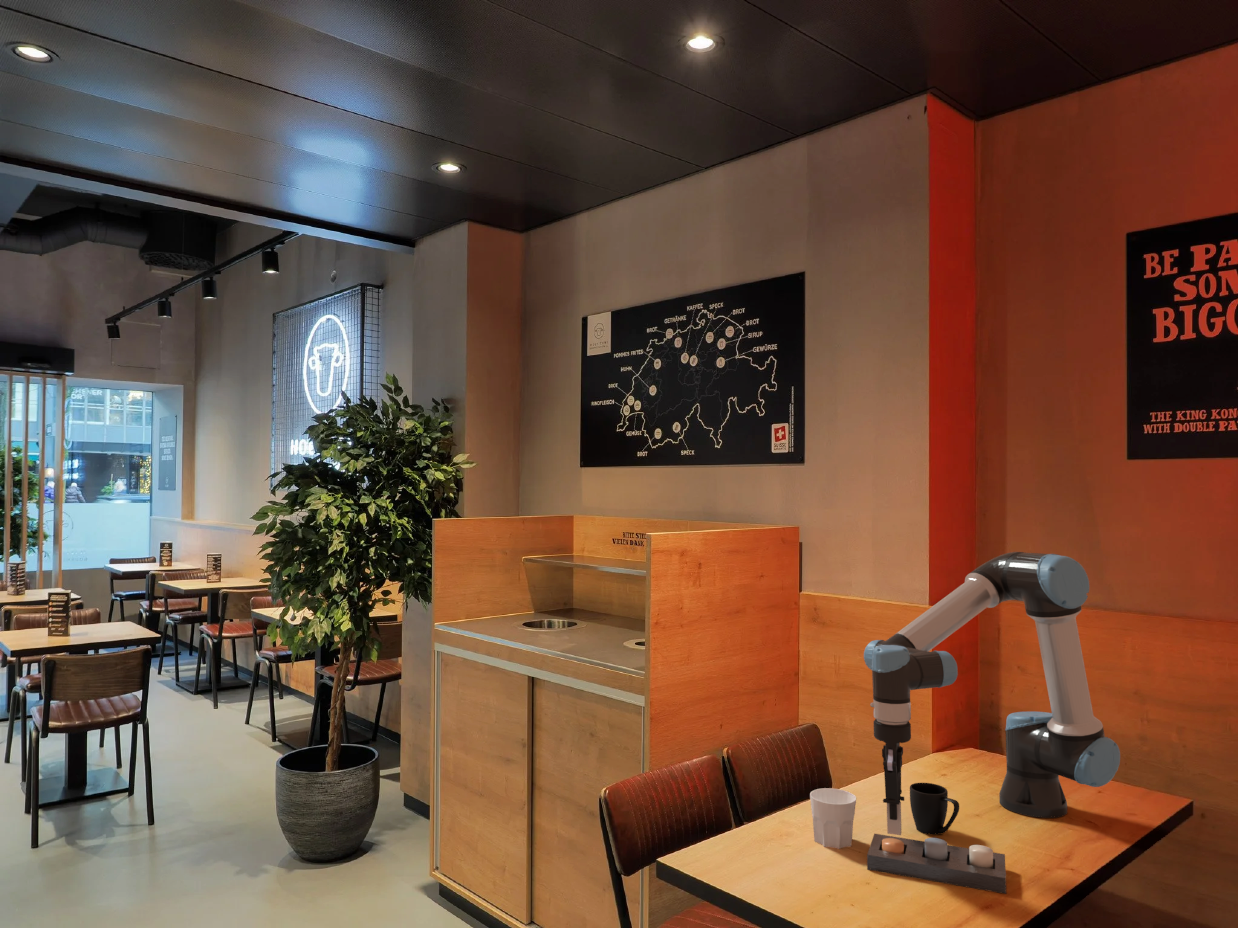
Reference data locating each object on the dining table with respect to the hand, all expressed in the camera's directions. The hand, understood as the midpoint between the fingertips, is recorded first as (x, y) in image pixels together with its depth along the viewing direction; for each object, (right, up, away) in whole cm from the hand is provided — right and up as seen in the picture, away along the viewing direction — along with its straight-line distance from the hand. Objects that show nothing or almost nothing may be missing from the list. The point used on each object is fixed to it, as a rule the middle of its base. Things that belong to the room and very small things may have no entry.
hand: (894, 832), depth 177 cm
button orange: (0, -5, 0) cm, 6 cm away
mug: (+14, -7, +15) cm, 22 cm away
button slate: (+7, -4, -4) cm, 9 cm away
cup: (-10, -7, +10) cm, 16 cm away
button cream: (+15, -4, -7) cm, 17 cm away
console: (+7, -6, -4) cm, 10 cm away
